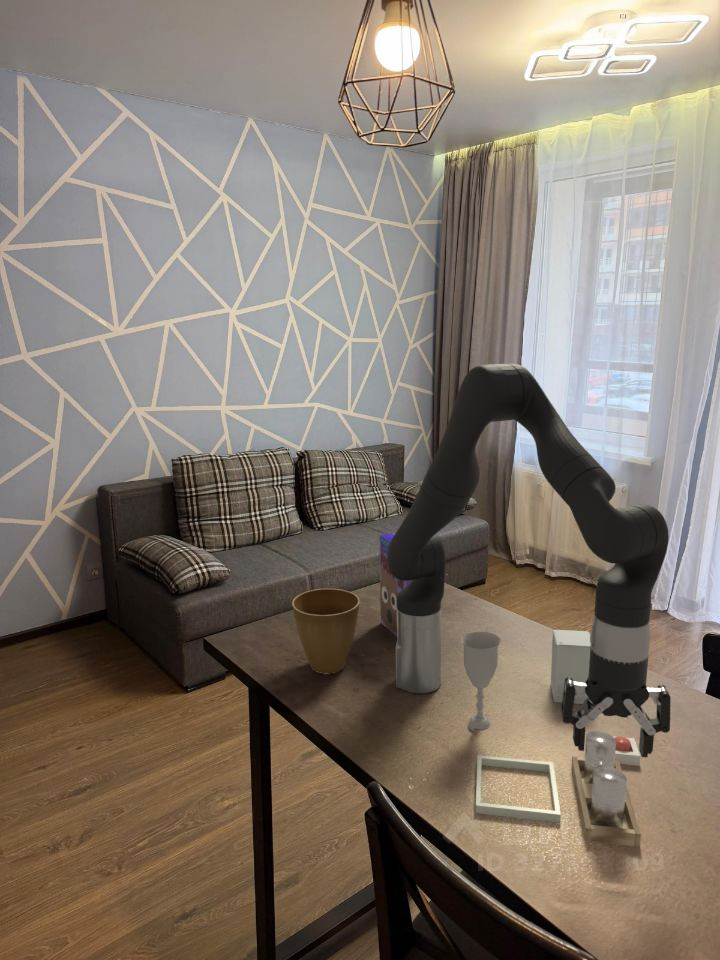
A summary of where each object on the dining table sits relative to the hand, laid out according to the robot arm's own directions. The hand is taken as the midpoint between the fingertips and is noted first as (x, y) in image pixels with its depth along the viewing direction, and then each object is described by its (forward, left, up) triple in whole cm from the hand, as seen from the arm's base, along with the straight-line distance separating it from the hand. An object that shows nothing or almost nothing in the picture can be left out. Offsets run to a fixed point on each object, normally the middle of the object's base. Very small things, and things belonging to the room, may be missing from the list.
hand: (611, 750), depth 94 cm
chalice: (-19, +23, -14) cm, 33 cm away
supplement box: (-1, +38, -14) cm, 41 cm away
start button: (+5, +17, -12) cm, 22 cm away
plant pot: (-53, +42, -14) cm, 69 cm away
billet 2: (0, 0, -12) cm, 12 cm away
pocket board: (0, +4, -13) cm, 14 cm away
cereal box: (-38, +61, -14) cm, 74 cm away
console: (+5, +17, -13) cm, 23 cm away
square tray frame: (-13, +5, -13) cm, 19 cm away
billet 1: (0, +9, -12) cm, 15 cm away
